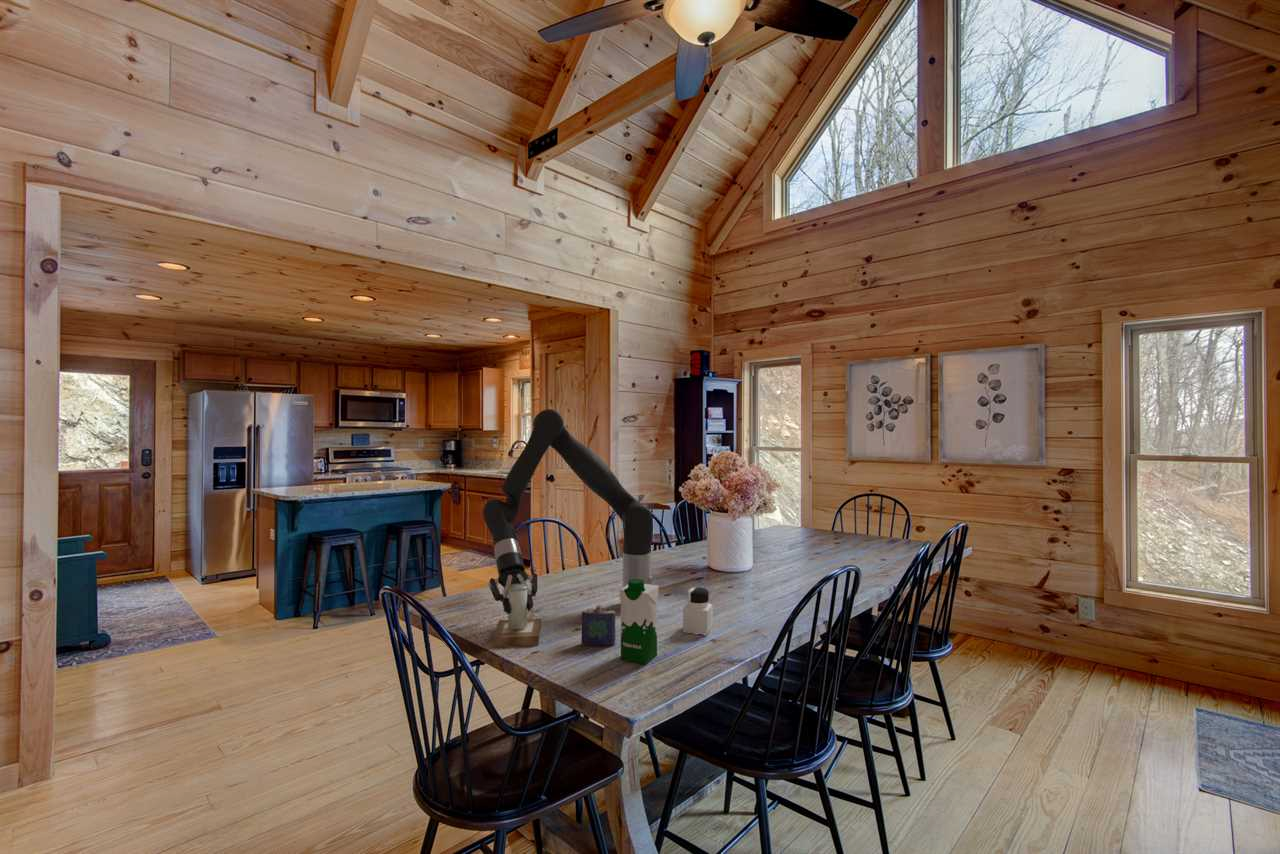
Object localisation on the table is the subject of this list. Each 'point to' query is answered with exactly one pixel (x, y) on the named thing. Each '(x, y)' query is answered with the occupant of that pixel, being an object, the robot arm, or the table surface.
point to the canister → (517, 606)
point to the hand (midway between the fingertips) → (519, 610)
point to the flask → (598, 627)
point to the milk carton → (638, 621)
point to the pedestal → (517, 634)
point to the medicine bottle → (698, 612)
